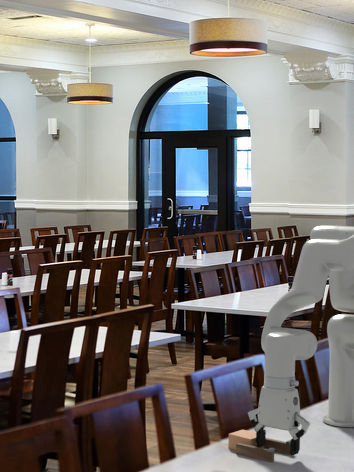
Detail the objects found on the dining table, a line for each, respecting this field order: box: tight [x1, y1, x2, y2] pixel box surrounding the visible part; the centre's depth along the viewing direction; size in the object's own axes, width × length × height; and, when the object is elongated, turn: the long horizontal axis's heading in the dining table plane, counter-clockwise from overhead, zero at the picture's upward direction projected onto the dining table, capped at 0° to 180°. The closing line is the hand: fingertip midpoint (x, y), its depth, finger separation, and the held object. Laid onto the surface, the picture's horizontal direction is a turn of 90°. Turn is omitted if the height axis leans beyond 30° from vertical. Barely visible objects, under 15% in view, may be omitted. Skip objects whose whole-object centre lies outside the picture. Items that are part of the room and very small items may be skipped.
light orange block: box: [227, 429, 264, 451], centre depth 221 cm, size 6×7×4 cm
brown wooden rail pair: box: [235, 437, 291, 463], centre depth 217 cm, size 10×10×3 cm
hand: (277, 450), depth 215 cm, fingers open, 9 cm apart
